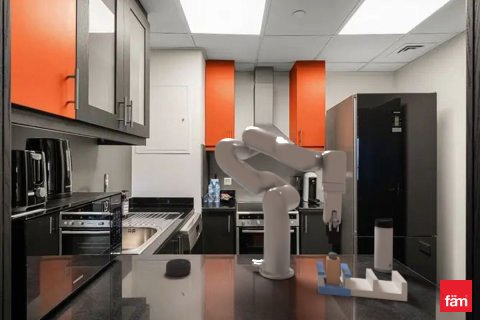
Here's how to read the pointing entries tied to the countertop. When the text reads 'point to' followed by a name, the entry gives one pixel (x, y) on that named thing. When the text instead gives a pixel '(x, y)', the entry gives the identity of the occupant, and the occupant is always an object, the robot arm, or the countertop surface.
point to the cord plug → (332, 269)
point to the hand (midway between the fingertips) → (331, 239)
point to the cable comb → (363, 285)
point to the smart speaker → (178, 267)
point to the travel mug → (383, 245)
